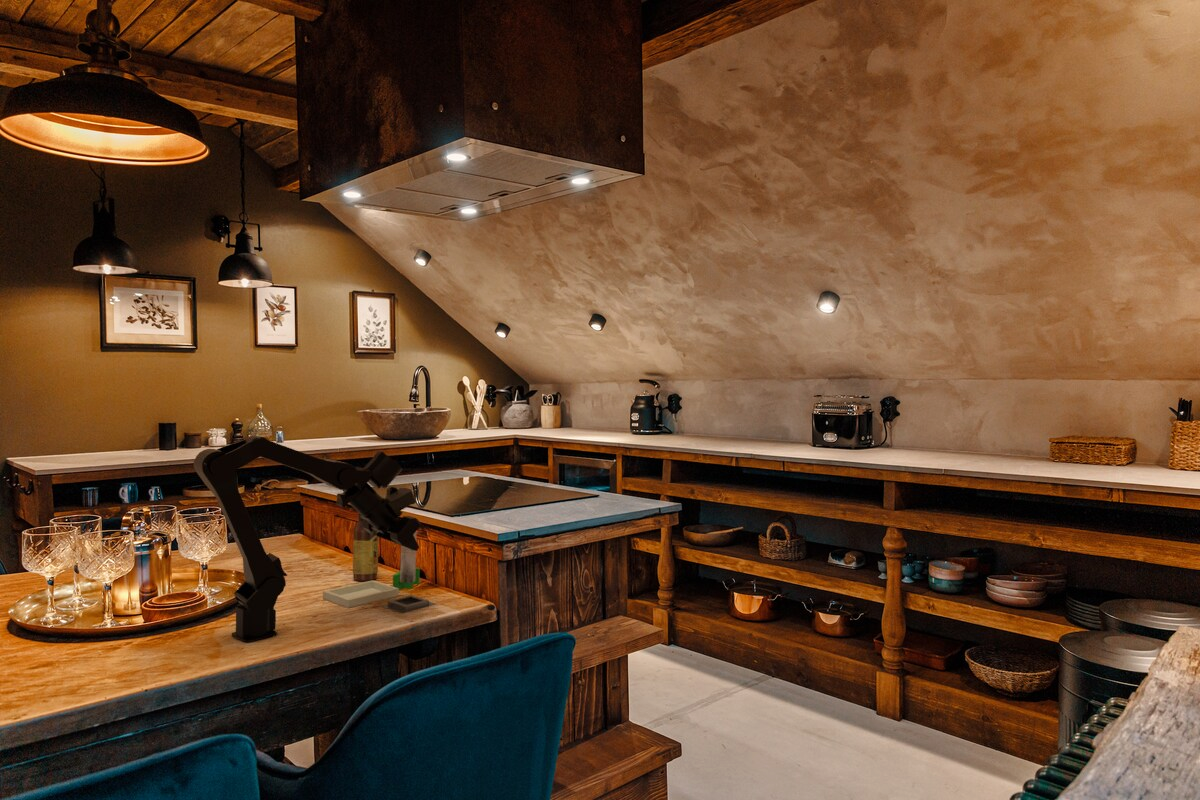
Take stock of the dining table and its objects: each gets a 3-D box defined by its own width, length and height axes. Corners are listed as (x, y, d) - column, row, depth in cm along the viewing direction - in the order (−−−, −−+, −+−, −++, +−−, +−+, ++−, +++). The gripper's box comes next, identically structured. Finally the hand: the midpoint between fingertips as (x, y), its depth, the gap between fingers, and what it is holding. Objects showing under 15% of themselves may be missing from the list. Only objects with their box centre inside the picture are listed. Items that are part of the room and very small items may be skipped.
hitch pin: (405, 584, 169) (407, 523, 169) (394, 581, 172) (396, 520, 172) (420, 581, 172) (422, 520, 172) (409, 577, 175) (411, 518, 175)
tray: (348, 609, 168) (348, 600, 168) (322, 600, 175) (322, 591, 175) (398, 597, 179) (398, 588, 179) (372, 589, 186) (373, 580, 186)
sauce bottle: (378, 581, 193) (380, 504, 193) (353, 582, 191) (354, 505, 190) (376, 574, 199) (377, 500, 199) (351, 576, 197) (353, 501, 196)
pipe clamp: (407, 594, 183) (407, 576, 182) (392, 593, 183) (392, 575, 183) (423, 582, 194) (423, 564, 194) (409, 581, 194) (409, 564, 194)
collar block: (401, 615, 166) (401, 609, 165) (379, 607, 171) (380, 601, 171) (437, 605, 173) (437, 599, 173) (415, 598, 178) (415, 593, 178)
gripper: (413, 481, 162) (456, 527, 170) (376, 472, 176) (417, 515, 183) (378, 521, 157) (424, 566, 164) (342, 509, 171) (386, 550, 178)
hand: (413, 547), depth 173 cm, fingers closed on hitch pin, 3 cm apart
